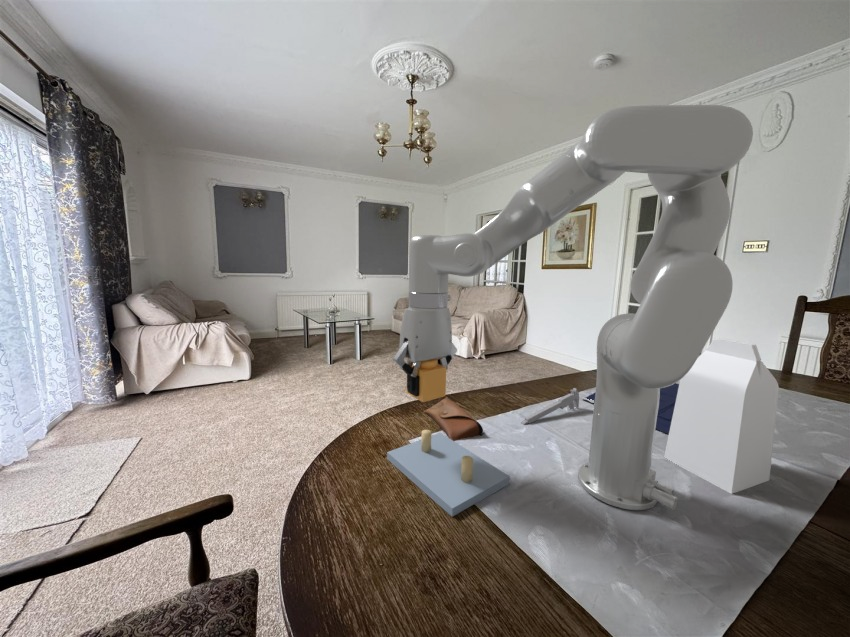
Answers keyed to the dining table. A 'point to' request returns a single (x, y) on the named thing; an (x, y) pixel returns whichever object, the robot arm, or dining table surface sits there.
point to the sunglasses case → (454, 420)
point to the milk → (725, 417)
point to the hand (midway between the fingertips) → (426, 389)
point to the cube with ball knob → (431, 380)
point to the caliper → (556, 406)
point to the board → (447, 472)
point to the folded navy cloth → (662, 407)
